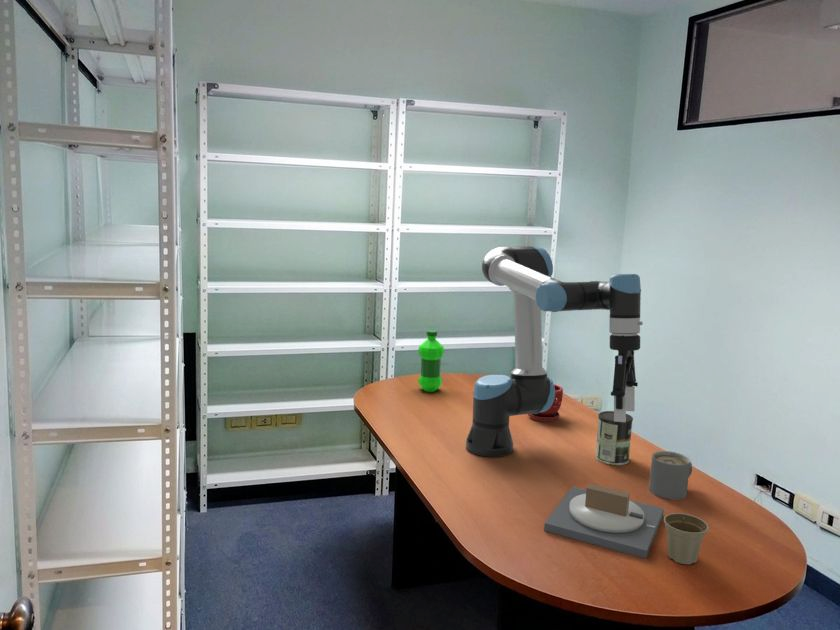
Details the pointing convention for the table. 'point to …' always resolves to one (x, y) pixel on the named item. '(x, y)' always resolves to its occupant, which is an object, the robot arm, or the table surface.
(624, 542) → the base plate
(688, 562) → the flower pot
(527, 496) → the table surface
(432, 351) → the plastic bottle
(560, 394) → the plant pot
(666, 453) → the coffee mug
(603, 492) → the dial
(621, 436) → the coffee can
